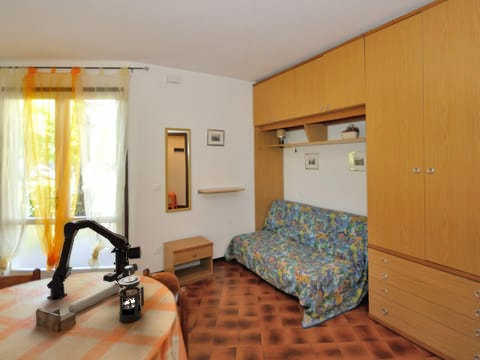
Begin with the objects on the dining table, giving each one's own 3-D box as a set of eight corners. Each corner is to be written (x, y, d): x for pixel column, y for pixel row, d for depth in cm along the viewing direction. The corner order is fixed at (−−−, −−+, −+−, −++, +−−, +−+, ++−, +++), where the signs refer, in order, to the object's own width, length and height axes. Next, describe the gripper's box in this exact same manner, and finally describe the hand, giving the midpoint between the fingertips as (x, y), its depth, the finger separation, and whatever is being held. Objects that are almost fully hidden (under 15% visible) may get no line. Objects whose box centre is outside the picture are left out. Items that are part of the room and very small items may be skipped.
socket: (36, 324, 113) (35, 309, 112) (54, 315, 119) (54, 301, 119) (57, 332, 107) (57, 316, 107) (75, 322, 114) (75, 307, 114)
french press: (125, 327, 110) (124, 272, 109) (113, 320, 116) (111, 267, 115) (149, 314, 120) (148, 263, 119) (136, 308, 125) (135, 260, 124)
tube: (73, 308, 119) (120, 285, 141) (66, 302, 121) (113, 280, 143) (72, 318, 120) (118, 294, 142) (64, 312, 122) (112, 289, 144)
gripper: (117, 267, 133) (118, 298, 133) (144, 256, 150) (145, 283, 151) (102, 264, 137) (102, 294, 138) (130, 254, 154) (130, 280, 155)
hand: (121, 288), depth 145 cm, fingers closed
